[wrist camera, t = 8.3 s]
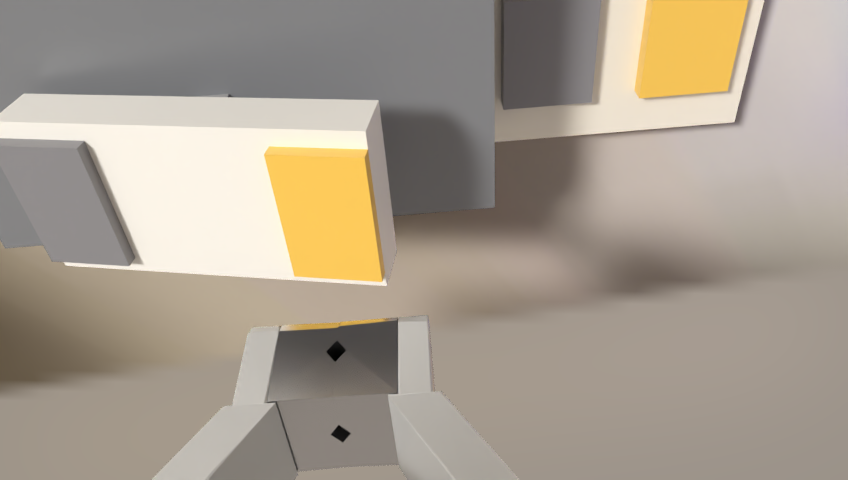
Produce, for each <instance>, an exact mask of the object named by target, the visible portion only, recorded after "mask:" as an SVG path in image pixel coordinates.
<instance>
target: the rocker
mask: <svg viewBox="0 0 848 480" xmlns="http://www.w3.org/2000/svg"><path fill="white" fill-rule="evenodd" d="M0 166H1V168H2V170H3V172H4V174H5V175H6V177H7V179H8V181H9V183H10V185H11V187H12V188H13V190H14V192H15V194H16V196H17V198H18V200H19V201H20V203H21V205H22V207H23V209H24V211H25V212H26V214H27V216H28V218H29V220H30V222H31V224H32V225H33V227H34V229H35V231H36V233H37V235H38V237H39V238H40V240H41V242H42V244H43V246H44V248H45V250H46V251H47V253H48V255H49V257H50V259H51V261H53V262H64V264H65V266H80V267H95V268H111V269H127V270H143V271H159V272H174V273H190V274H206V275H222V276H238V277H253V278H269V279H285V280H301V281H317V282H333V283H348V284H364V285H380V286H387V284H388V280H389V277H390V273H391V270H392V266H393V263H394V260H395V256H396V253H397V248H396V239H395V231H394V223H393V214H392V206H391V198H390V189H389V181H388V173H387V165H386V156H385V148H384V140H383V131H382V123H381V115H380V107H379V100H344V99H290V98H236V97H182V96H129V95H75V94H23V95H21V96H20V97H19V98H18V99H17V100H15V101H14V102H13V103H12V104H10V105H9V106H8V107H7V108H5V109H4V110H3V111H2V112H1V113H0Z"/></svg>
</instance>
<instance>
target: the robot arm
mask: <svg viewBox="0 0 848 480" xmlns="http://www.w3.org/2000/svg"><path fill="white" fill-rule="evenodd" d="M377 465H378V466H379V465H399V467H400V469H401V471H402V472H403V474H404V475H405V477H406V478H407V480H519V479H518V477H517V476H516V475H515V474H514V473H513V472H512V471H511V469H510V468H509V467H508V466H507V465H506V464H505V463H504V462H503V460H501V458H500V457H499V456H498V455H497V454H496V453H495V451H494V450H493V449H492V448H491V447H490V446H489V445H488V443H487V442H486V441H485V440H484V439H483V438H482V437H481V435H480V434H479V433H478V432H477V431H476V430H475V429H474V427H473V426H472V425H471V424H470V423H469V422H468V421H467V420H466V418H465V417H464V416H463V415H462V414H461V413H460V412H459V410H458V409H457V408H456V407H455V406H454V405H453V404H452V403H451V401H450V400H449V399H448V398H447V397H446V396H445V395H444V394H443V392H442V391H437V392H435V384H434V374H433V361H432V349H431V338H430V326H429V317H428V315H422V316H409V317H399V319H398V317H397V318H384V319H372V320H360V321H347V322H340V323H320V324H299V325H282V326H268V327H252V328H251V330H250V332H249V333H248V335H247V340H246V344H245V349H244V353H243V358H242V362H241V367H240V371H239V376H238V380H237V385H236V389H235V394H234V398H233V403H232V405H231V406H223V407H222V408H221V409H220V410H219V411H218V412H217V413H216V414H215V415H214V416H213V417H212V418H211V419H210V420H209V421H208V422H207V423H206V424H205V425H204V426H203V427H202V428H201V429H200V430H199V431H198V432H197V433H196V434H195V435H194V436H193V437H192V438H191V439H190V441H189V442H188V443H187V444H186V445H185V446H184V447H183V448H182V449H181V450H180V451H179V452H178V453H177V454H176V455H175V456H174V457H173V458H172V459H171V460H170V461H169V462H168V463H167V464H166V465H165V466H164V467H163V468H162V469H161V470H160V471H159V472H158V473H157V474H156V475H155V476H154V477H153V478H152V479H151V480H295V478H296V477H297V475H298V473H297V472H298V471H307V470H319V469H329V468H340V467H353V466H377Z"/></svg>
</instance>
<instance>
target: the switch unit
mask: <svg viewBox="0 0 848 480" xmlns="http://www.w3.org/2000/svg"><path fill="white" fill-rule="evenodd" d="M763 4H764V0H0V113H1V112H2V111H3V110H4V109H5V108H7V107H8V106H9V105H10V104H12V103H13V102H14V101H15V100H17V99H18V98H19V97H20V96H21V95H23V94H75V95H129V96H182V97H236V98H290V99H344V100H379V107H380V115H381V123H382V131H383V140H384V148H385V156H386V165H387V173H388V181H389V189H390V198H391V206H392V214H393V216H400V215H412V214H424V213H436V212H448V211H460V210H472V209H484V208H495V142H504V141H516V140H528V139H540V138H552V137H563V136H575V135H587V134H599V133H611V132H623V131H635V130H647V129H659V128H671V127H683V126H695V125H707V124H719V123H731V122H735V118H736V114H737V110H738V105H739V101H740V97H741V93H742V89H743V85H744V81H745V77H746V73H747V69H748V65H749V61H750V57H751V53H752V48H753V44H754V40H755V36H756V32H757V28H758V24H759V20H760V16H761V12H762V8H763ZM0 240H1V242H2V244H3V246H4V247H5V248H16V247H28V246H40V245H43V244H42V242H41V240H40V238H39V237H38V235H37V233H36V231H35V229H34V227H33V225H32V224H31V222H30V220H29V218H28V216H27V214H26V212H25V211H24V209H23V207H22V205H21V203H20V201H19V200H18V198H17V196H16V194H15V192H14V190H13V188H12V187H11V185H10V183H9V181H8V179H7V177H6V175H5V174H4V172H3V170H2V168H1V166H0Z"/></svg>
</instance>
